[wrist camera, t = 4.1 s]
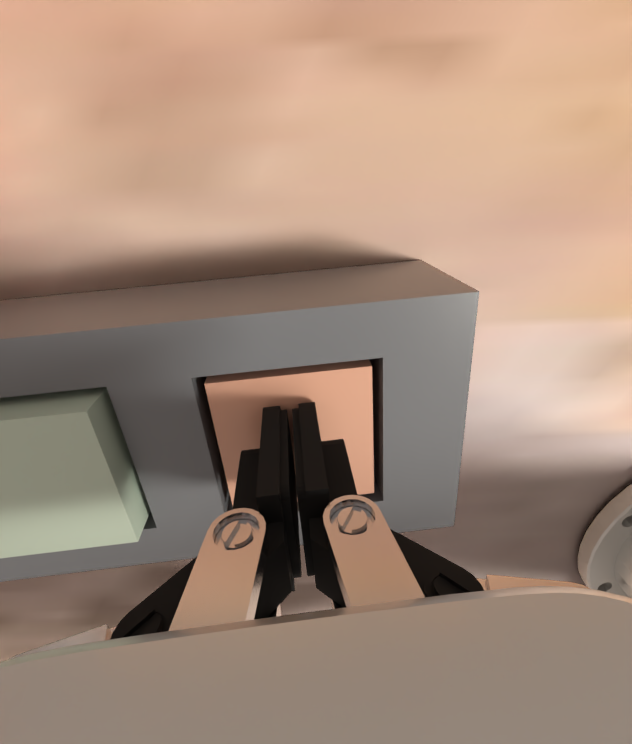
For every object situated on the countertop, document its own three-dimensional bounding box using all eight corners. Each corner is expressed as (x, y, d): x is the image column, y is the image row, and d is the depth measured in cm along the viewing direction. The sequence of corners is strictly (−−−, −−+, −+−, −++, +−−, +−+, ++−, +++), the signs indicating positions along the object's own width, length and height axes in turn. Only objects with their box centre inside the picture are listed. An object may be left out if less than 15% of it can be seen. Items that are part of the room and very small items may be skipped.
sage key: (160, 486, 15) (138, 541, 13) (28, 501, 15) (-19, 560, 13) (121, 370, 13) (86, 411, 11) (-34, 386, 13) (-105, 432, 10)
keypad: (413, 446, 19) (453, 526, 15) (-156, 511, 18) (-299, 618, 14) (420, 259, 15) (478, 291, 11) (-306, 329, 14) (-577, 396, 10)
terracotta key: (360, 448, 16) (374, 492, 14) (240, 462, 16) (233, 509, 14) (356, 335, 14) (372, 365, 12) (217, 349, 14) (204, 384, 11)
